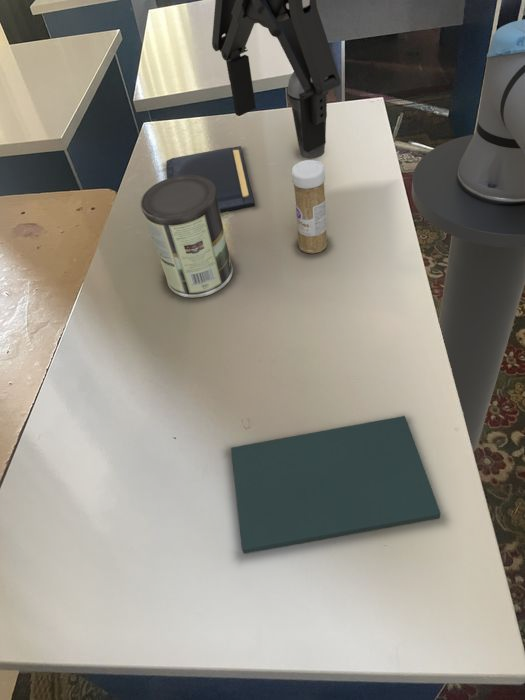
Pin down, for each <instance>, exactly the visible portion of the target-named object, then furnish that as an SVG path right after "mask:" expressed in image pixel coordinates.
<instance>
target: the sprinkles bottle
mask: <svg viewBox="0 0 525 700" xmlns="http://www.w3.org/2000/svg"><path fill="white" fill-rule="evenodd" d="M325 170H326V169H325V166H324V164H323V163H322V162H320V161H319V160H315V159H306V160H301V161H299V162H296V163H295V165H293V166H292V167H291V182H292V184H293V186H294V187H293V188H294V198H295V213H296V215H295V216H296V226H297V227H296V228H297V233H298V248H299V249H300V250H301V252H303V253H305V254H306V253H307V254H317V253H321V252H323V251H324V250H325V249H326V248H327V247H328V244H329V243H328V237H327V236H328V235H327V226H328V225H327V210H326V209H327V205H326V203H327V202H326V193H325V190H326V189H325V180H326V171H325Z"/></svg>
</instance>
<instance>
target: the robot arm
mask: <svg viewBox="0 0 525 700" xmlns="http://www.w3.org/2000/svg"><path fill="white" fill-rule="evenodd" d="M213 13H214V14H213V24H212V25H213V26H212V37H211V47H212V49H213V50H214V51H215V52H218V51H219V52H220V53H221V54H220V55H221V57H222V59H223V60H224V61H225V63H226V69H227V74H228V79H229V84H230V89H231V95H232V100H233V106H234V113H235V116H237V117H242V116H243V115H245V114H247V113H250V112H251V111H253V110H256V109H257V107H256V106H257V105H256V100H255V99H256V98H255V92H254V87H253V85H254V84H253V80H252V72H251V65H250V57H249V55H247V54H244V53H246V52H248V51H249V50H248V49H247V43H248V41H249V38H250V36H251V33H252V31H253V28H254V26H255V24H259V25H260V26H262V27H263V28H266V29H268V31H269V34H270V35H271V36H272V37H274V38H276V39H277V40H278V43H279V44H280V46H281V49H282V51H283V52H284V54H285V56H286V58H287V61H288V62H289V64H290V66H291V68H292V70H293V72H295V74H296V76H297V78H298V80H299V82H300V84H301V86H302V88H303V90H304V92H303V93H301V94H299V98H300V110H301V123H302V135H303V147H304V151H306V152H310V151H312V150H314V149H316V148H318V147H319V146H321V145H323V144H325V145H326V143H327V140H326V138H327V137H325V120H326V121H327V118H328V110H327V108H326V92H328V91H329V92H331V91H332V90H334V89H336V88H338V87H340V85H341V78H340V74H339V71H338V68H337V65H336V62H335V60H334V56H333V52H332V49H331V46H330V43H329V41H328V38H327V35H326V31H325V28H324V25H323V22H322V19H321V16H320V11H319V10H318V6H317V0H215V1H214V12H213ZM286 16H288V18H286ZM242 54H243V55H242ZM485 64H486V65H485V69H484V77H483V83H482V90H481V97H480V103H479V108H478V109H479V110H478V115H477V121H476V128H475V132H474V136H473V138H472V140H471V141H470V143H469V145H468V147H467V149H466V151H465V153H464V155H463V157H462V159H461V161H460V163H459V167H458V172H457V181H458V184H459V186H460V187H461V189H462V190H463V191H464V192H466V193H467V194H468V195H470V196H472V197H473V198H475V199H478V200H480V201H483V202H486V203H490V204H496V205H504V206H518V205H525V19H520V20H514V21H512V22H509V23H506V24H504V25H502V26H500V27H499V28H497V30H495V31H494V33H493V34H492V36H491V40H490V44H489V48H488V52H487V53H486V63H485ZM311 78H312V81H313V82H311V80H310V79H311ZM329 92H328V93H329ZM326 110H327V111H326Z"/></svg>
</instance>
